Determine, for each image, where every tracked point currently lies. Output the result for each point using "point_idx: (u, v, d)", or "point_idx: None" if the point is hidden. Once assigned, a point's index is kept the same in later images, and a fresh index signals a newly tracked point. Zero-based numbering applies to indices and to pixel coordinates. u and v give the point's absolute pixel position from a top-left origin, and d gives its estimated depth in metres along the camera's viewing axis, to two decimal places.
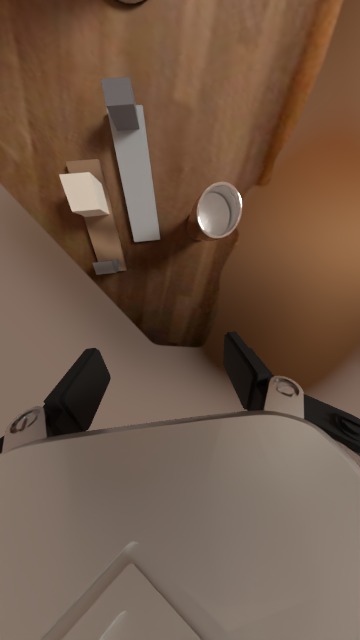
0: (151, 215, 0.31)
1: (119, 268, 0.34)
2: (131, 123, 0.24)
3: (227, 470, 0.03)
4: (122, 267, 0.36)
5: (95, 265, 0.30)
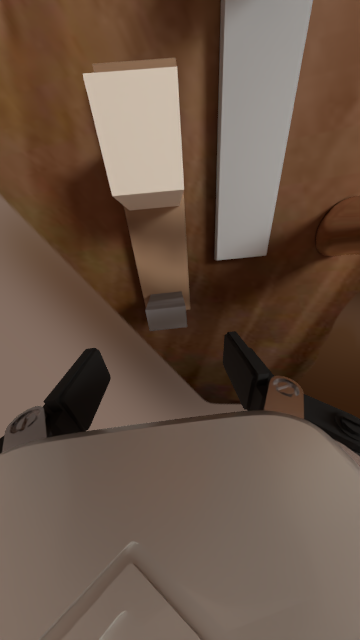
0: (264, 207, 0.15)
1: None
2: None
3: (228, 470, 0.03)
4: (185, 304, 0.20)
5: (151, 314, 0.14)
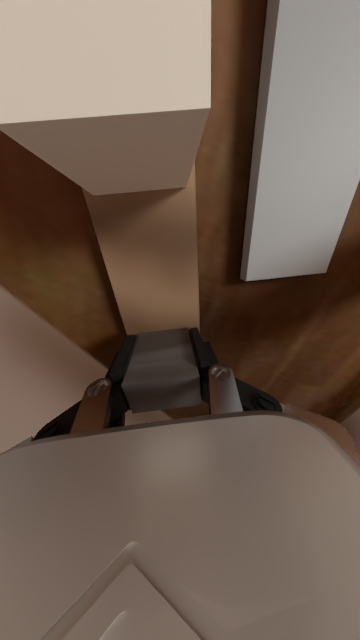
0: (336, 192, 0.08)
1: None
2: None
3: (227, 470, 0.03)
4: None
5: (134, 390, 0.08)
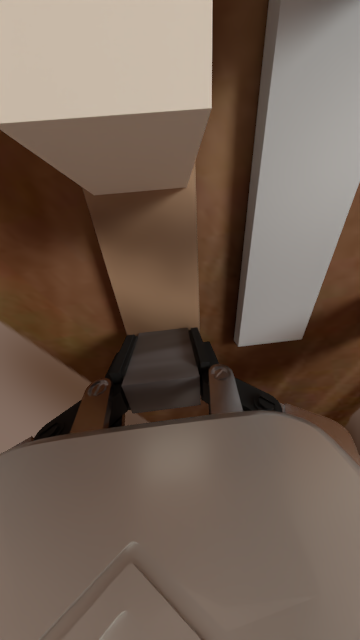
0: (305, 291, 0.11)
1: None
2: None
3: (228, 470, 0.03)
4: None
5: (134, 390, 0.08)
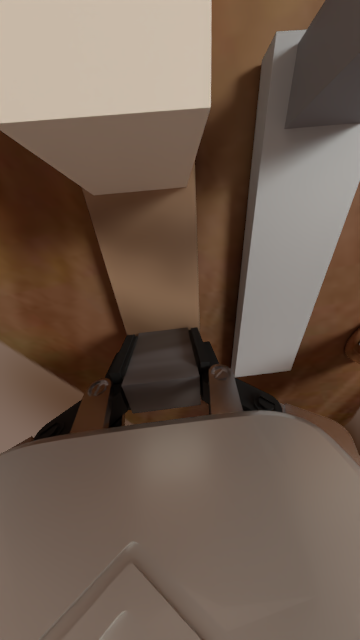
0: (291, 334, 0.13)
1: None
2: None
3: (228, 470, 0.03)
4: None
5: (134, 390, 0.08)
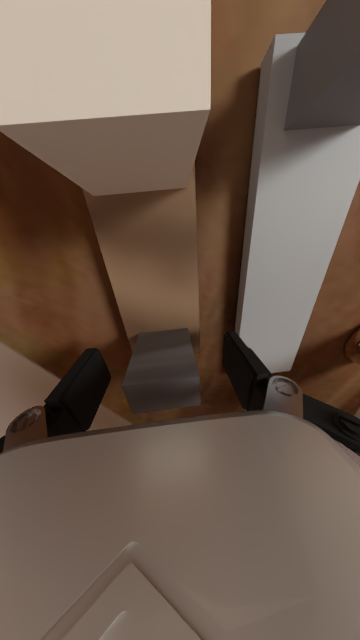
0: (291, 334, 0.13)
1: None
2: None
3: (228, 470, 0.03)
4: (192, 345, 0.13)
5: (134, 391, 0.08)
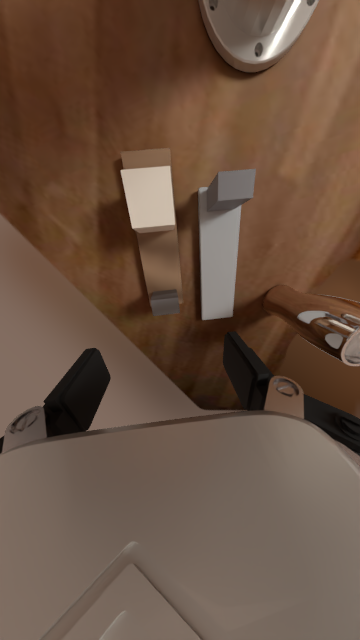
0: (228, 294, 0.26)
1: None
2: (230, 207, 0.19)
3: (227, 470, 0.03)
4: (179, 299, 0.26)
5: (154, 303, 0.21)
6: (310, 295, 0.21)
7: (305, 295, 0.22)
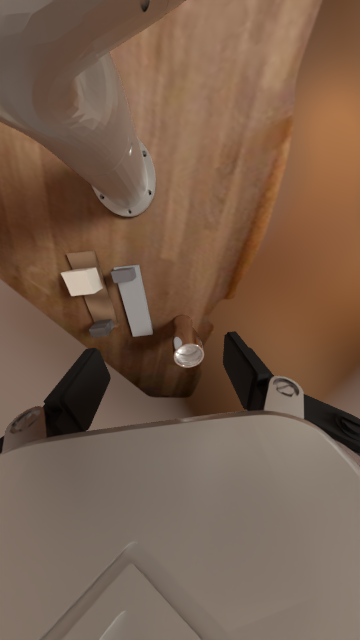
0: (145, 321, 0.42)
1: (112, 327, 0.40)
2: None
3: (227, 470, 0.03)
4: (114, 324, 0.41)
5: (91, 330, 0.36)
6: (181, 326, 0.37)
7: (181, 325, 0.37)
